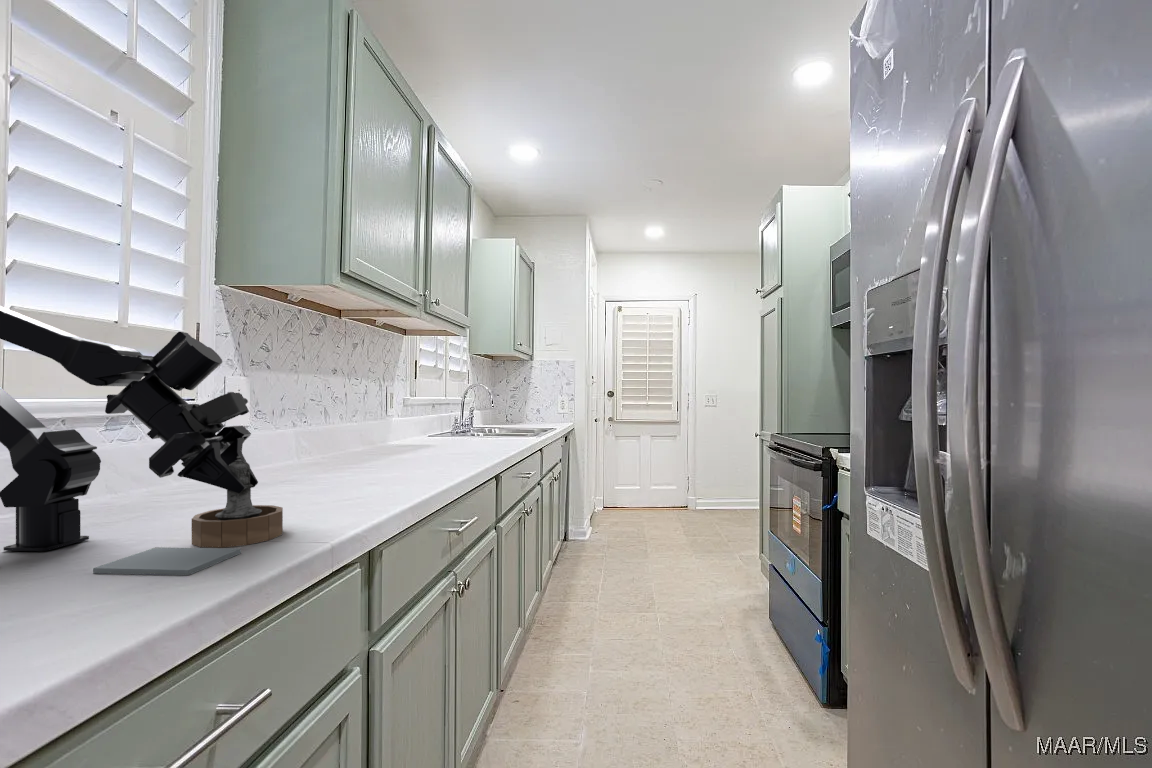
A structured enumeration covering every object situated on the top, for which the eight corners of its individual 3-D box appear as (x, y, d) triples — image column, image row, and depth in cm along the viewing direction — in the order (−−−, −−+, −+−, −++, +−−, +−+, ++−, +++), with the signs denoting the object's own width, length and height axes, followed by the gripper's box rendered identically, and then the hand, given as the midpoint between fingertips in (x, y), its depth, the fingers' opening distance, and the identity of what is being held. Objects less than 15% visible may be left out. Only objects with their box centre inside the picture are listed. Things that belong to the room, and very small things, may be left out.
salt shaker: (241, 543, 80) (240, 457, 81) (205, 541, 82) (204, 456, 82) (271, 533, 86) (270, 452, 86) (237, 531, 87) (237, 452, 88)
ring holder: (173, 546, 79) (172, 521, 79) (229, 527, 90) (229, 505, 90) (250, 548, 78) (250, 522, 78) (297, 528, 89) (297, 505, 89)
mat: (93, 573, 68) (93, 568, 68) (155, 551, 77) (155, 547, 77) (188, 575, 66) (188, 569, 66) (241, 553, 75) (240, 548, 75)
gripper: (174, 371, 74) (266, 454, 76) (236, 375, 93) (309, 442, 94) (106, 433, 73) (201, 517, 75) (183, 425, 92) (258, 492, 93)
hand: (249, 487), depth 84 cm, fingers open, 4 cm apart
